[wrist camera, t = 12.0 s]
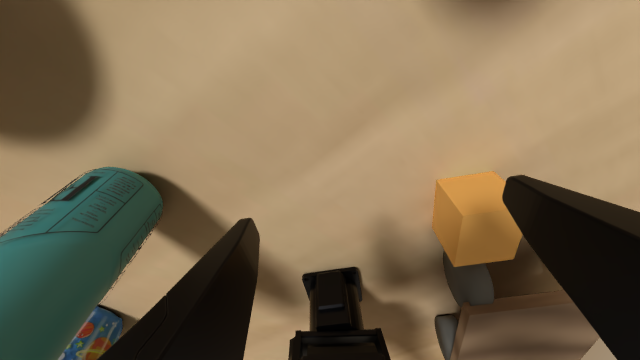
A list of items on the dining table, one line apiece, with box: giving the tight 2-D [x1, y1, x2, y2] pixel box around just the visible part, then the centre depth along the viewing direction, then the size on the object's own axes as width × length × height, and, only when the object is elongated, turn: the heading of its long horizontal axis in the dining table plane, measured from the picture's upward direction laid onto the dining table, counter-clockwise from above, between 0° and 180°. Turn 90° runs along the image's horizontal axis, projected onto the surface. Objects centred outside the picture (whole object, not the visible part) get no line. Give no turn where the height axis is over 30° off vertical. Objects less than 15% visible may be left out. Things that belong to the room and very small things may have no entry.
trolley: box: [435, 250, 600, 360], centre depth 27 cm, size 21×14×12 cm, turn 10°
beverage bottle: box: [0, 167, 163, 360], centre depth 14 cm, size 6×7×20 cm
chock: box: [432, 171, 522, 267], centre depth 23 cm, size 6×5×5 cm
